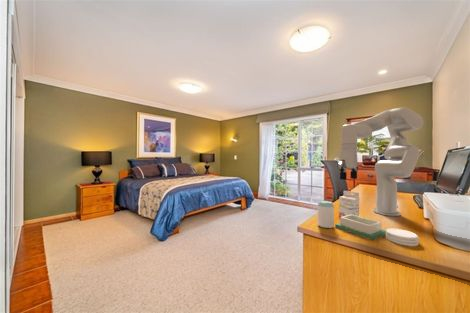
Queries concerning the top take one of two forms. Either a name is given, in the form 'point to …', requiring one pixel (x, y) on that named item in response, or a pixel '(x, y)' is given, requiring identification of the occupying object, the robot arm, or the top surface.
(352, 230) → the green and cream tray
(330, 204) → the can
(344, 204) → the ink cartridge box
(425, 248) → the top surface
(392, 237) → the white short cylinder
